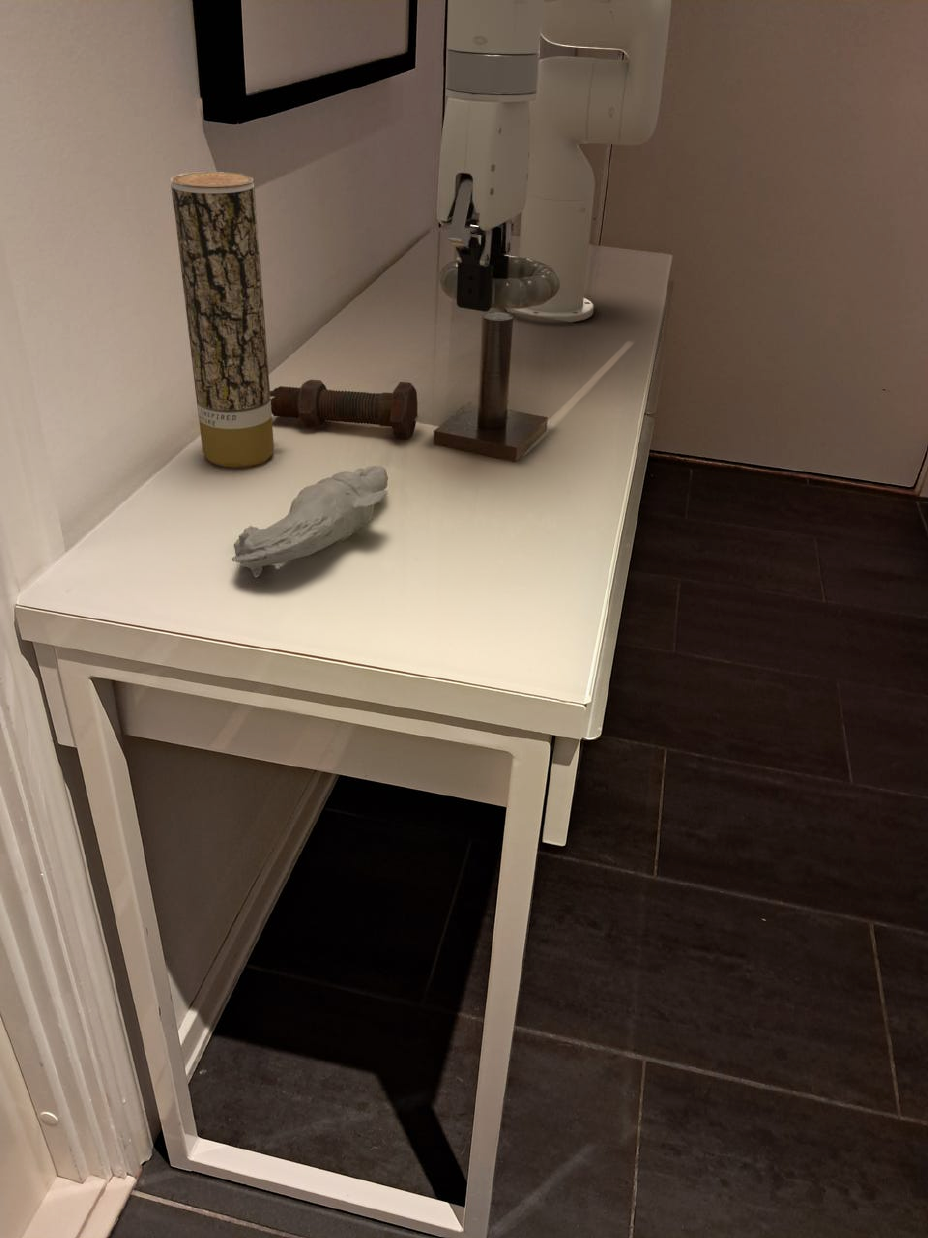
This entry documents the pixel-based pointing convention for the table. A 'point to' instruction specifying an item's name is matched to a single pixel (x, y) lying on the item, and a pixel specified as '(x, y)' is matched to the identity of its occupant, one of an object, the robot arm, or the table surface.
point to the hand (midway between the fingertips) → (481, 301)
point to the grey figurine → (315, 519)
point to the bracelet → (511, 284)
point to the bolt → (348, 406)
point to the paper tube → (225, 314)
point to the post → (492, 403)
